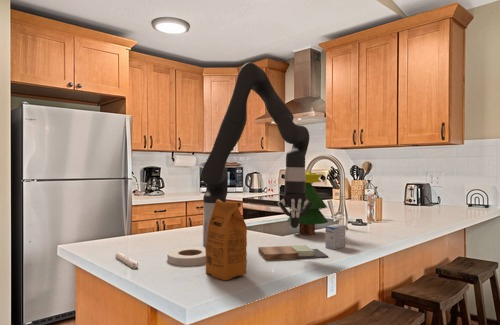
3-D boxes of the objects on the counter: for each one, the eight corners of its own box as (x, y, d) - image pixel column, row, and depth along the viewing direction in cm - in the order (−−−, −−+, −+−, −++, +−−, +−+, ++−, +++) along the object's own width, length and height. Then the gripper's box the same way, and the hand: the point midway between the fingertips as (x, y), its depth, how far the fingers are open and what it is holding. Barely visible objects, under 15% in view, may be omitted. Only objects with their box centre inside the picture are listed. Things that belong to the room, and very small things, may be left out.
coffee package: (228, 266, 115) (228, 198, 115) (251, 276, 105) (251, 201, 105) (200, 272, 109) (200, 199, 109) (222, 283, 99) (222, 203, 99)
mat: (295, 258, 125) (295, 257, 125) (286, 251, 136) (286, 250, 136) (328, 257, 127) (328, 256, 127) (317, 250, 138) (317, 248, 138)
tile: (297, 256, 127) (297, 251, 127) (290, 250, 135) (290, 245, 135) (313, 255, 128) (313, 250, 128) (305, 249, 136) (305, 245, 136)
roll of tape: (177, 269, 114) (177, 260, 114) (161, 258, 127) (161, 250, 127) (220, 262, 122) (220, 253, 122) (201, 252, 135) (201, 245, 135)
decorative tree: (278, 232, 172) (278, 170, 173) (307, 228, 184) (307, 170, 184) (307, 239, 157) (307, 171, 157) (336, 235, 168) (336, 170, 168)
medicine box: (336, 244, 147) (336, 223, 147) (345, 246, 144) (345, 225, 144) (325, 248, 142) (325, 226, 142) (334, 250, 139) (335, 227, 139)
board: (264, 260, 123) (264, 254, 123) (258, 252, 134) (258, 247, 134) (298, 258, 125) (298, 253, 125) (289, 251, 136) (289, 245, 136)
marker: (140, 269, 113) (140, 262, 113) (134, 270, 112) (134, 263, 112) (121, 257, 127) (121, 251, 127) (115, 258, 126) (115, 251, 126)
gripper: (280, 180, 126) (279, 229, 126) (316, 180, 128) (315, 229, 128) (274, 179, 133) (274, 226, 133) (309, 179, 135) (308, 225, 135)
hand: (294, 227), depth 131 cm, fingers closed
